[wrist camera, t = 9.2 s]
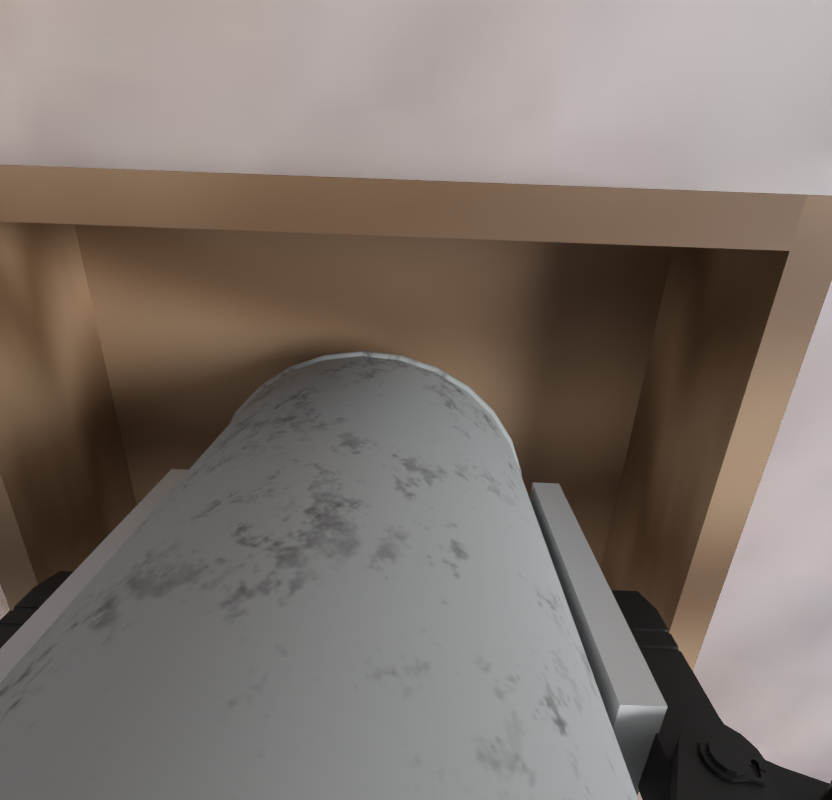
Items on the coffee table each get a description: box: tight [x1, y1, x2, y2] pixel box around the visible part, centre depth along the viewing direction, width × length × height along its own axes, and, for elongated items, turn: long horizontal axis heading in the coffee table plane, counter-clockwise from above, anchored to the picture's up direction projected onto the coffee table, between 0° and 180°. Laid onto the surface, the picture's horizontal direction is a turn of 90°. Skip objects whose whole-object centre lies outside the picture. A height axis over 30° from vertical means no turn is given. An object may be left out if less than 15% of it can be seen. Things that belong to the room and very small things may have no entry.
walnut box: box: [0, 165, 832, 792], centre depth 15 cm, size 18×19×6 cm
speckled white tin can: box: [0, 351, 638, 800], centre depth 9 cm, size 10×10×12 cm
